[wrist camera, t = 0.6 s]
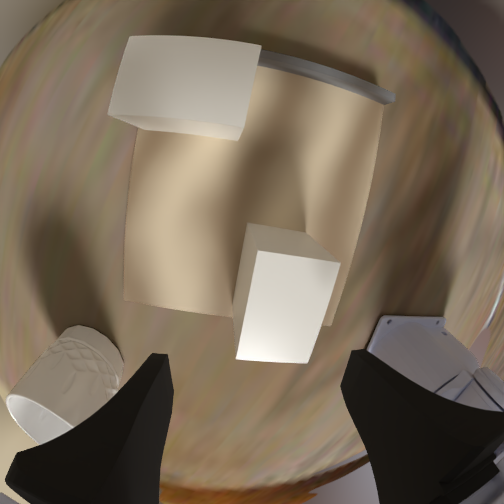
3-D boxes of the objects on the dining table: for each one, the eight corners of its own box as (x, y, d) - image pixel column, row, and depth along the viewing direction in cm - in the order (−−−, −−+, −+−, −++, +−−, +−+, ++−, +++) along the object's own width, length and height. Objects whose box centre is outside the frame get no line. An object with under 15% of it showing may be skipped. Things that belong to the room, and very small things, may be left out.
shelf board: (379, 99, 16) (395, 94, 14) (327, 320, 21) (337, 336, 19) (160, 51, 14) (153, 38, 12) (127, 295, 19) (117, 310, 17)
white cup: (57, 305, 19) (-6, 374, 9) (135, 339, 20) (97, 432, 11) (59, 365, 21) (18, 433, 11) (126, 395, 22) (101, 475, 13)
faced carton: (158, 72, 14) (130, 35, 8) (249, 82, 15) (262, 44, 9) (144, 130, 15) (107, 114, 9) (237, 141, 16) (244, 127, 10)
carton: (307, 232, 18) (341, 263, 12) (287, 311, 20) (308, 363, 14) (247, 222, 18) (257, 250, 12) (232, 305, 19) (235, 359, 14)
